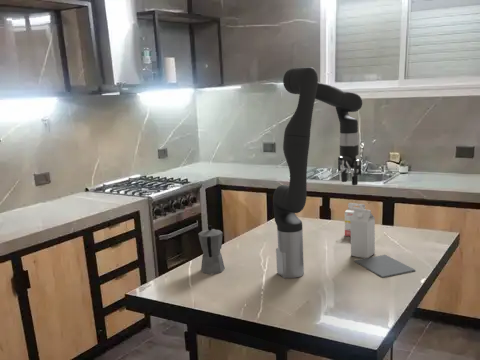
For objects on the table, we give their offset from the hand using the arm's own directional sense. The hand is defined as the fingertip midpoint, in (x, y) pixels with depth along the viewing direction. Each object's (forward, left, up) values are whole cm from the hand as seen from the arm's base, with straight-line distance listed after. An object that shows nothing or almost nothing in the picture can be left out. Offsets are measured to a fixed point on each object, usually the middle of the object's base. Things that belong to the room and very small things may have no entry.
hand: (349, 183), depth 194 cm
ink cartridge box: (+11, +13, -28) cm, 33 cm away
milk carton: (0, -10, -28) cm, 30 cm away
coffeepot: (-60, +1, -28) cm, 66 cm away
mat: (0, -24, -28) cm, 37 cm away
